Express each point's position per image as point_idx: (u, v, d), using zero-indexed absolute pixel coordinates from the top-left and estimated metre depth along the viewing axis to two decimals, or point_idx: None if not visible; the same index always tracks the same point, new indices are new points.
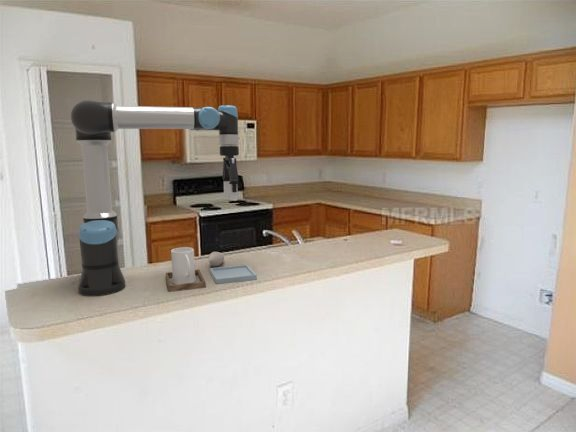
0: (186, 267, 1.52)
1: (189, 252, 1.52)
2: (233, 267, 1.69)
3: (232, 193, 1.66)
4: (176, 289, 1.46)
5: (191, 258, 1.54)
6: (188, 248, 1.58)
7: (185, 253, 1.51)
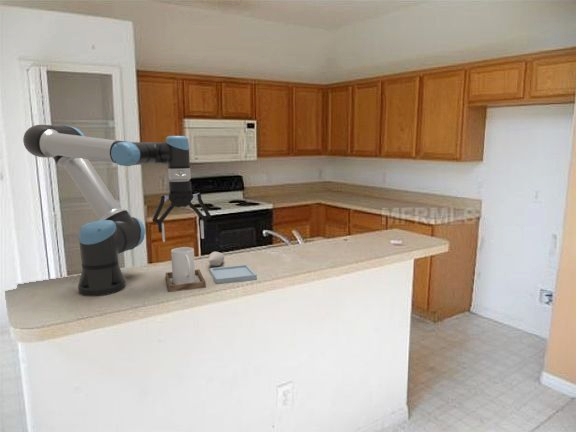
0: (186, 267, 1.52)
1: (189, 252, 1.52)
2: (233, 267, 1.69)
3: None
4: (176, 289, 1.46)
5: (191, 258, 1.54)
6: (188, 248, 1.58)
7: (185, 253, 1.51)
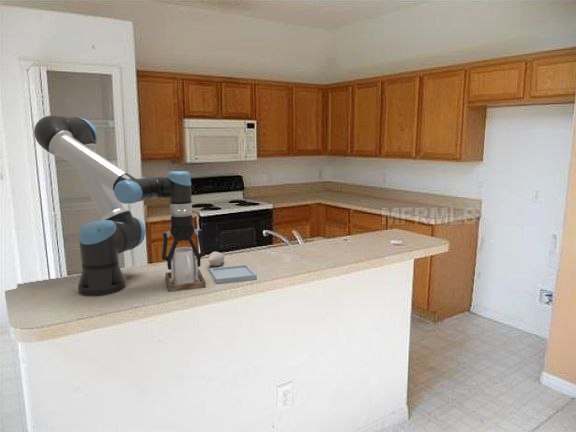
0: (186, 267, 1.52)
1: (189, 252, 1.52)
2: (233, 267, 1.69)
3: None
4: (176, 289, 1.46)
5: (192, 258, 1.54)
6: (188, 248, 1.58)
7: (185, 253, 1.51)
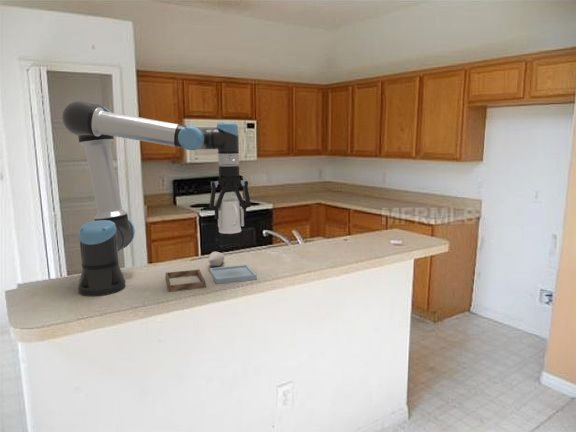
0: (233, 216, 1.57)
1: (236, 202, 1.57)
2: (233, 267, 1.69)
3: (218, 219, 1.58)
4: (176, 289, 1.46)
5: (238, 208, 1.58)
6: (234, 200, 1.63)
7: (232, 202, 1.56)
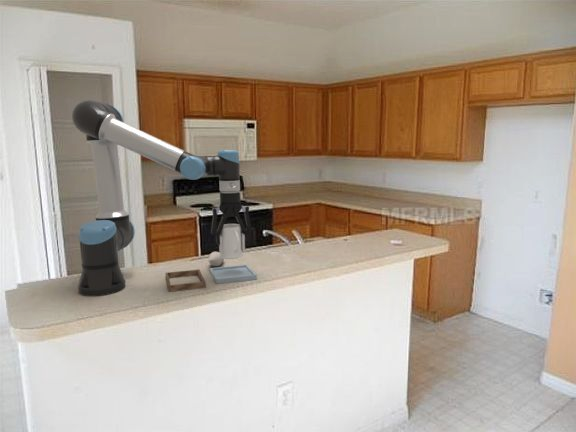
0: (234, 242, 1.58)
1: (237, 228, 1.58)
2: (233, 267, 1.69)
3: (219, 245, 1.60)
4: (176, 289, 1.46)
5: (239, 234, 1.60)
6: (235, 225, 1.64)
7: (234, 228, 1.57)
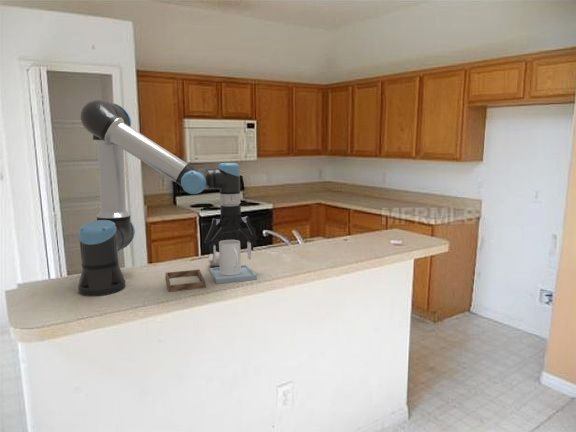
0: (233, 259, 1.59)
1: (236, 244, 1.59)
2: None
3: None
4: (176, 289, 1.46)
5: (238, 250, 1.61)
6: (234, 241, 1.65)
7: (233, 245, 1.58)
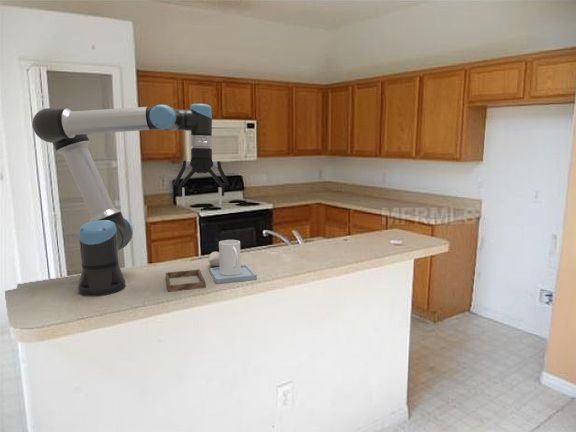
0: (233, 259, 1.59)
1: (236, 244, 1.59)
2: None
3: None
4: (176, 289, 1.46)
5: (238, 250, 1.61)
6: (234, 241, 1.65)
7: (233, 245, 1.58)
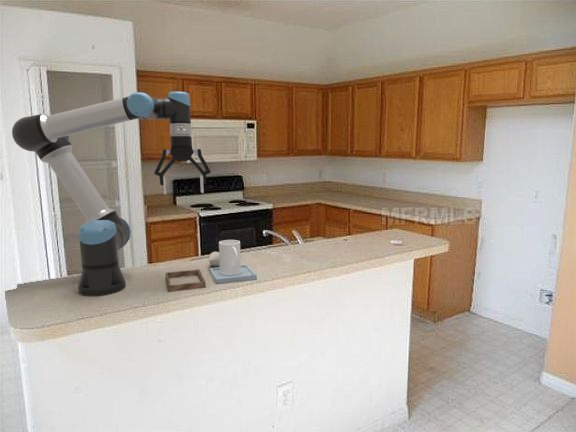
0: (233, 259, 1.59)
1: (236, 244, 1.59)
2: None
3: (163, 186, 1.57)
4: (176, 289, 1.46)
5: (238, 250, 1.61)
6: (234, 241, 1.65)
7: (233, 245, 1.58)
